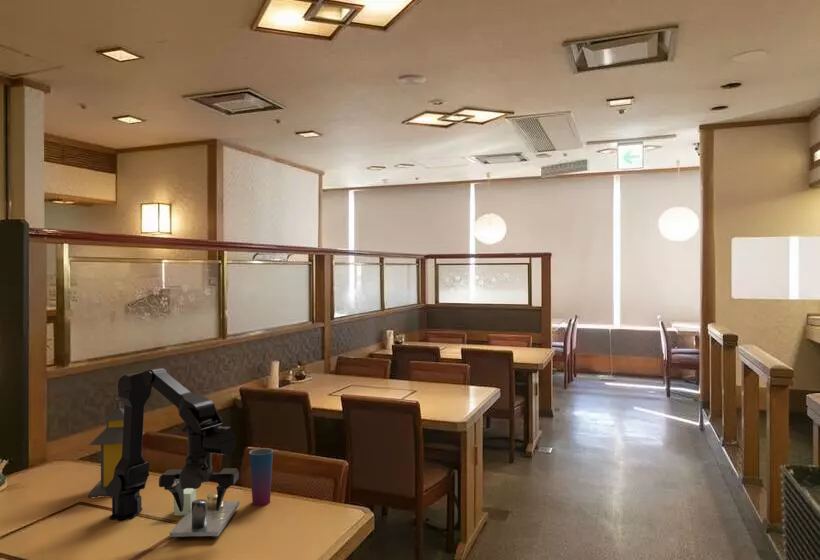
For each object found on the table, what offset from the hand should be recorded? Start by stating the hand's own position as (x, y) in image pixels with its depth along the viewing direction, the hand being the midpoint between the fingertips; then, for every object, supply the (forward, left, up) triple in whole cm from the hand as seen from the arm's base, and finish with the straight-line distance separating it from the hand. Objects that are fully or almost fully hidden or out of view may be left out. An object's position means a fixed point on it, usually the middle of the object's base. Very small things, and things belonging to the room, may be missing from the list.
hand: (199, 510), depth 146 cm
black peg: (0, 0, -4) cm, 4 cm away
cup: (+11, +21, -6) cm, 25 cm away
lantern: (-37, +35, -6) cm, 51 cm away
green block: (-9, +15, -6) cm, 19 cm away
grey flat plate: (0, +6, -6) cm, 9 cm away
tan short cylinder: (0, +13, -4) cm, 14 cm away
